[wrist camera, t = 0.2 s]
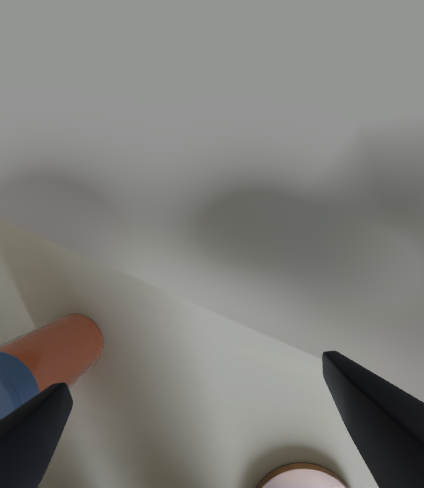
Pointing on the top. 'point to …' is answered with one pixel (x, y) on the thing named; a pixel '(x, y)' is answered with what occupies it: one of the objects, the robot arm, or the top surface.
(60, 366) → the jar
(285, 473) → the coaster
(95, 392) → the top surface
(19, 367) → the jar lid
